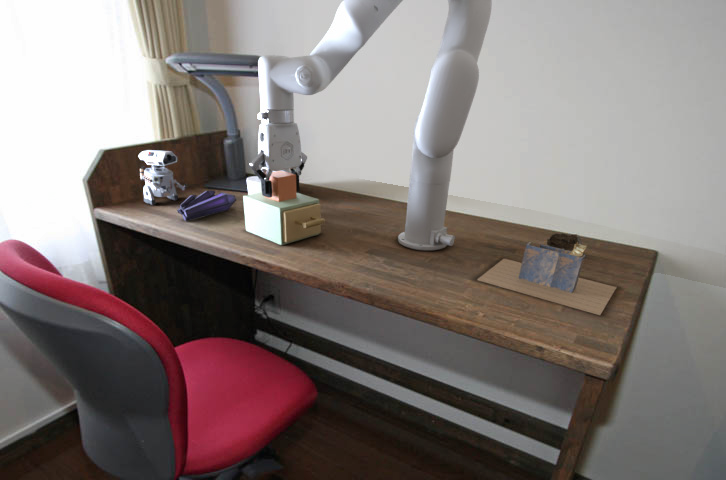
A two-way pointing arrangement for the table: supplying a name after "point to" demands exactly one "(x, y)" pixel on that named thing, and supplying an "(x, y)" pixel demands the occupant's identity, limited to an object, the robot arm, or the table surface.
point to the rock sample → (563, 241)
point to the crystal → (205, 204)
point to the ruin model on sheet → (551, 278)
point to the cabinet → (271, 215)
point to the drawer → (301, 222)
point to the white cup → (254, 185)
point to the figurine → (159, 175)
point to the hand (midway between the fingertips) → (281, 193)
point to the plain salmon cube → (283, 186)
